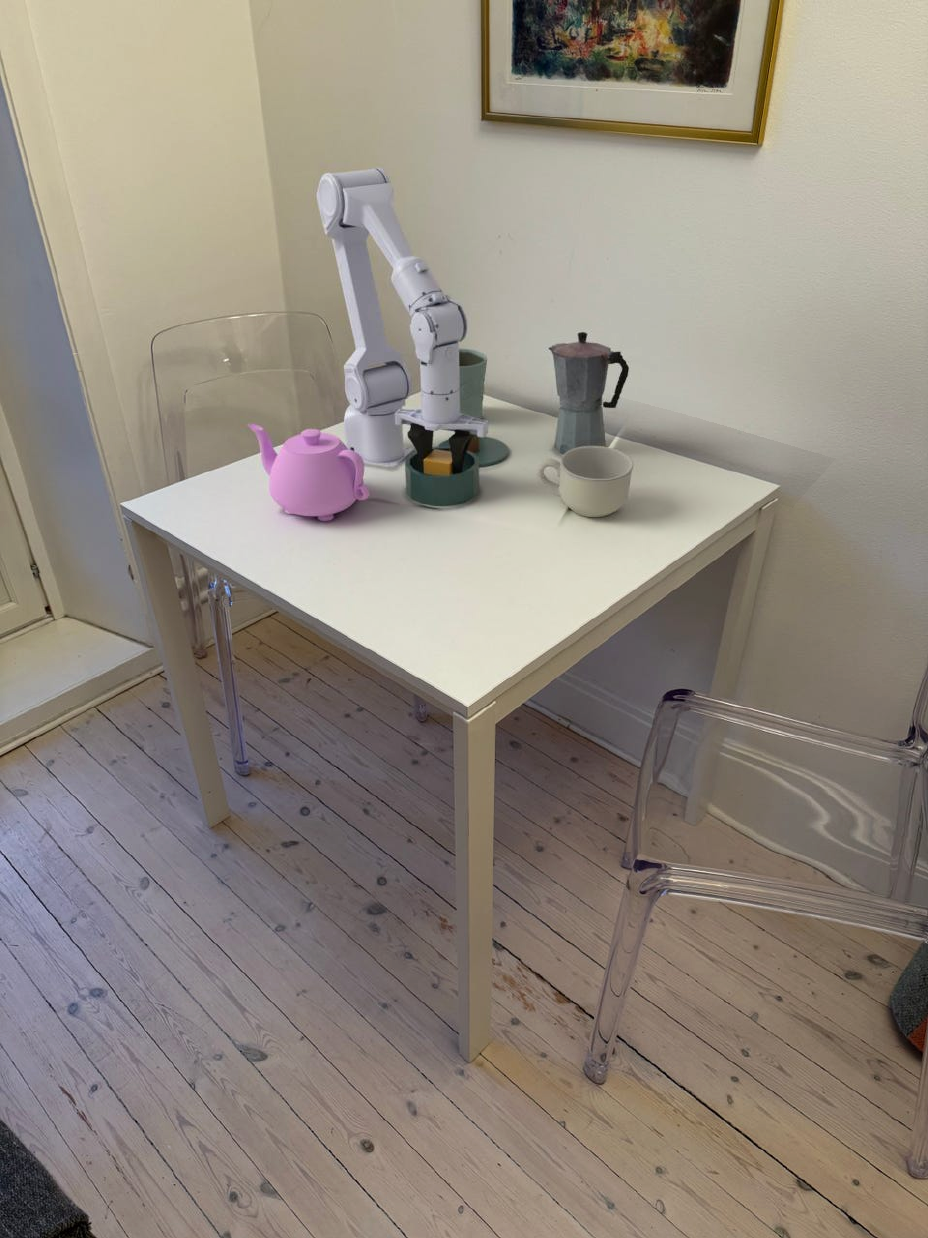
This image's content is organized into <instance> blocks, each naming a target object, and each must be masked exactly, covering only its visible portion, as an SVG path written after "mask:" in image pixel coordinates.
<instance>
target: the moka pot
mask: <svg viewBox="0 0 928 1238" xmlns="http://www.w3.org/2000/svg"><path fill="white" fill-rule="evenodd" d="M587 337H588V332H584V331H580V332H578V333H577V338H578V341H575V342H570V343H566V342H565V343H556V344H553V345H551V346H549V347H548V350H549V351H550V352H551V354H552V359H553V367H554V375H555V376H554V377H555V383H556V384H555V385H556V393H557V396H558V397H559V406H560V407H559V410H558V415H557V422H556V430H555V439H554V445H553V447H554V449H555V450H556V451H557V452H558V453H559V454H561V455H564V454H565V453H566V452H567V451H569V450H571V449H574V448H578V447H583V446H602V447H607V441H606V431H605V421H604V420H605V419H604V410H603V408H606V409H616V408H617V405H618V403H619V402H618V401H619V400H620V397H621V393H622V392H623V389H624V385H626V384H625V383H626V381H627V379H628V377H629V371H630V367H629V365H628V364H627V360H625V359H624V356H623V355H622V351H612V349H611V347H609V346H606V345H603V344H601V343H598V342H591V341H587ZM614 364H618V365H620V368H621V371H620V374H619V376H618V380H617V383H616V385H615V388H614V394H613V396H612V398H611V400H610V401H609V402H608V401H603V396H604V394H605V391H606V390H605V389H606V384H607V377H608V371H609V365H614Z"/></svg>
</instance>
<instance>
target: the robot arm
mask: <svg viewBox="0 0 928 1238" xmlns="http://www.w3.org/2000/svg"><path fill="white" fill-rule="evenodd" d="M316 200H317V201H316V202H317V206H318V210H319V215H320V218H321V224H322V227H323V231H324V234H325V236H326V237H328V238H331V242H332V246H333V250H334V255H335V259H336V260H335V261H336V265H337V269H338V273H339V279H340V282H341V287H342V293H343V297H344V302H345V305H346V310H347V315H348V319H349V323H350V328H351V333H352V337H353V342H354V346H355V350H354V352H353V353H352V355H350V357H349V358H348V360H347V361H346V362H345V363H344V365H343V373H344V390H345V395H346V399H347V400H348V403H349V406H348V407H347V408H346V409H345V413H344V417H343V433H344V441H345V442H344V444H345V445H346V447H347V448H348V449H349V450H352V451H355V452H356V453H358V454H359V455H360V456H361V457H362V459H363V462H364V463H369V464H374V465H380V466H386V467H396V466H397V465H398V464H399V463H401V461H403V460H404V458H406V457H408V456H409V455H410V453H412V452H413V451H414V450H415V452H416V451H417V453H418V456H419V458H420V461H421V464H422V468H423V471H424V459H425V458H426V457H427V456H428V455H429V454H430V453H431V452H432V451H433V447H434V446H433V445H434V442H433V441H434V432H437V431H439V430H442V431H448V432H454V433H453V434H452V435H451V436H450V437H448V439H449V444H450V449H451V454H452V473H453V474H457V473H461V472H462V468H463V463H464V459H465V456H466V453H467V450H468V448H469V445H470V443H471V441H472V439H473V437H474V435H477V436H478V437H484V436H485V437H487V435H488V434H489V420H485V419H482V418H481V419H477V418H474V417H471V416H468V415H465V414H462V413H460V389H459V349H460V343H461V342H462V341H464V339H465V338H466V336H467V333H468V320H467V316H466V313H465V311H464V309H463V305H461V303H459V301H457V300H455V299H453V298H452V297H451V296H450V295H449V294H445V293H444V291H443V289H442V287H441V286H440V284H439V282H438V280H437V279H436V276H435V275H434V273H433V272H432V269H431V267H430V265H429V264H428V262H427V261H426V260H425V258H422V257H417V256H415V255H414V252H413V250H412V247H411V245H410V242H409V241H408V239H407V237H406V234H405V232H404V230H403V228H402V226H401V223H400V220H399V218H398V216H397V214H396V212H395V209H394V208H395V190H394V187H393V185H392V182H391V179H390V178H389V176H388V174H387V172H386V171H385V170H384V169H383V168H381V167H373V168H369V169H361V170H353V171H345V172H335V173H332V172H325V173H324V174H323V175H322V176H321V178H320V180H319V183H318V187H317V192H316ZM369 235H370V236H371V237H372V239H373V241H374V242H375V244H376V245H377V247H378V248H379V250H380V251H381V252H382V254H383V255H384V257H385V259H386V260H387V262H388V263H389V264H390V266H391V267H392V269H393V270H392V274H391V278H390V281H391V283H392V285H393V288H394V290H395V291H396V293H397V295H398V297H399V298H400V300H401V302H402V304H403V306H404V307H405V309H406V311H407V314H408V315H409V316H410V318H411V323H410V324H409V330H410V335H411V338H412V340H413V343H414V348H415V355H416V358H417V359H418V360H419V374H420V375H419V376H420V377H419V378H420V398H421V399H420V402H421V408H419V409H415V408H414V409H412V408H411V409H410V408H403V407H405V406H406V400H408V399H409V398H410V397H411V393H412V389H413V381H412V376H411V373H410V371H409V370H408V368H407V365H406V363H405V359H404V355H403V353H402V352H400V351H399V350H397V349H396V348H394V347H392V346H390V345H389V344H388V340H387V336H386V335H387V334H386V331H385V327H384V321H383V317H382V312H381V307H380V302H379V296H378V292H377V287H376V283H375V278H374V273H373V267H372V263H371V259H370V253H369V248H368V243H367V240H368V238H369ZM380 364H383V365H380ZM377 365H379V366H377ZM372 366H375V367H372ZM369 367H371V368H369ZM403 425H408V426H410V427H409V430H408V431H407V433H406V435H407V438H408V440H409V442H410V443H411V444H412V446H413V447H414V448H412V447H407V446H405V445H404V427H403Z"/></svg>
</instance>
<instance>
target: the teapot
mask: <svg viewBox="0 0 928 1238" xmlns="http://www.w3.org/2000/svg"><path fill="white" fill-rule="evenodd" d="M247 426H248V427H249V429H251V430H252V432H253V433H254V434H255V436H256V438H257V440H258V444H259V451H260V459H261V465H262V467H263V469H264V471H265V472H266V474H267V475H268V476H269V494H270V497H271V498H272V500H273V501H274V502H275V503H276V504H277V505H278V506H279V507H281V508H282V509H284V512H285V513H286V514H288V515H297V516H304V517H317V519H318V520H319V521H321V522H329V521H331V520H333V519H334V518H335V516H334V514H337V513H339V512H343V511H345V510H346V509H348V508H350V507H351V506H352V505H353V504H354V503H355V502H356V501H357V500H358V501H365V500H367V499H368V498H369V497H370V494H371V490H370V488H369V487H368V486H367V485H365V483H364V475H365V462H363V459H362V457H361V456H360V455H359V454H358V453H356V452H355V451H352V450H349V449H348V448H347V447H346V443H345V442H343V440H341V439H340V438H339V437H338V436H337V435H334V434H331V433H328V432H321V430H320V429H316V428H307V429H304V430H302V431H301V433H300V434H296V435H294V436H291V437H289V438H288V439H287V440H285V441H284V443H283V444H282V446H281V447H280V449H279V451H278V452H276V450H275V448H274V447H273V446H274V445H273V444H272V441H271V438H270V436H269V434H268V432H267V431H266V429H264V428H263V427H262V426H260V425H258V424H256V423H250V422H249V423H247Z"/></svg>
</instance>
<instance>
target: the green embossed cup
mask: <svg viewBox="0 0 928 1238" xmlns="http://www.w3.org/2000/svg"><path fill="white" fill-rule="evenodd" d="M487 365H488V357H487V355H486V354H485V353H483V352H481V351H479V350H475V349H469V348H459V389H460V413H462V414H465V415H468V416H471V417H474V418H477V419H481V420H482V418H483V405H484V393H485V380H486V374H487V373H486V372H487Z"/></svg>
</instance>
